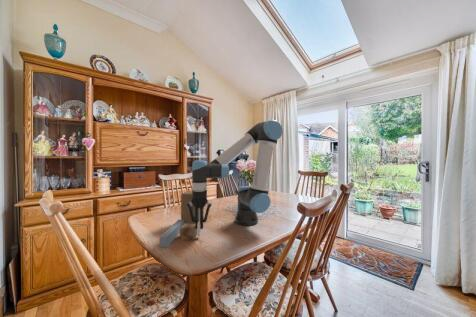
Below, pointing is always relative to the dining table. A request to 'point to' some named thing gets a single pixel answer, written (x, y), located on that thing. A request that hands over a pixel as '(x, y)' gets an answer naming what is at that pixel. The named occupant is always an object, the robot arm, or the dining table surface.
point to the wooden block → (185, 211)
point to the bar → (171, 234)
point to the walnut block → (188, 232)
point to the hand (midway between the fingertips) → (199, 234)
